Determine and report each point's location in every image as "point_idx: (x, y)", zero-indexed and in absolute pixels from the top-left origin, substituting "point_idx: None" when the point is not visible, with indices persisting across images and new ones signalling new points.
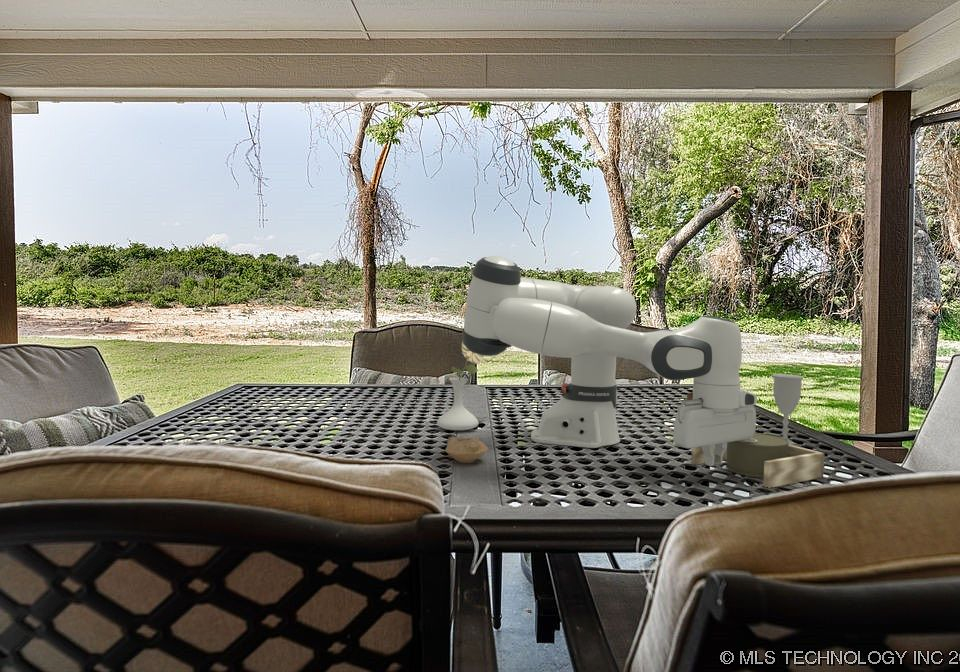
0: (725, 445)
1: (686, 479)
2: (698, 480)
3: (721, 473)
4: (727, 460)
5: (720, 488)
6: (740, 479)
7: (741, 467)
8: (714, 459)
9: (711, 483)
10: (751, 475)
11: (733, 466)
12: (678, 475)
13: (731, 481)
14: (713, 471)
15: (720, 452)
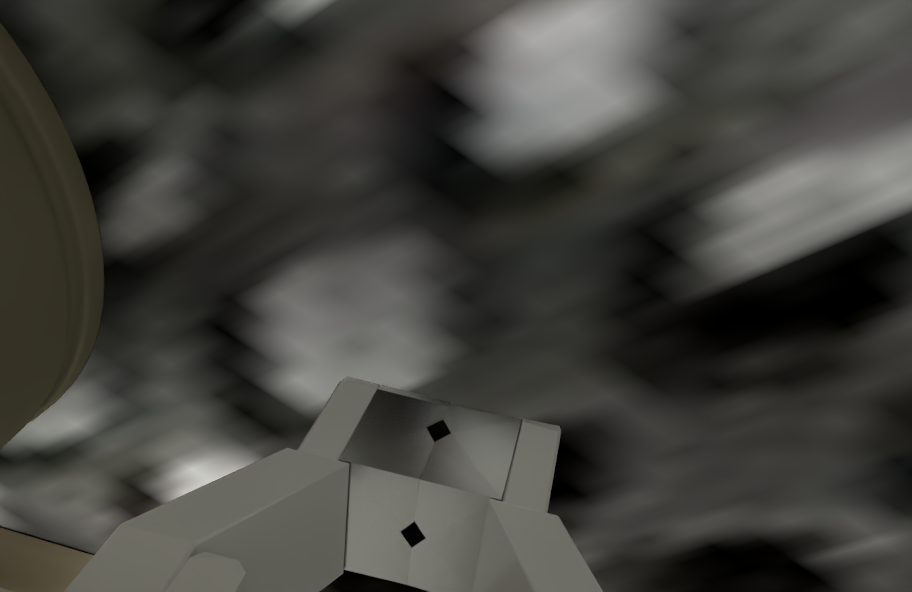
0: (137, 577)
1: (822, 491)
2: (747, 394)
3: (261, 348)
4: (9, 439)
5: (904, 40)
6: (256, 99)
7: (32, 231)
8: (502, 474)
9: (746, 241)
10: (30, 82)
11: (60, 327)
12: (733, 589)
13: (434, 125)
14: (278, 427)
15: (291, 520)
